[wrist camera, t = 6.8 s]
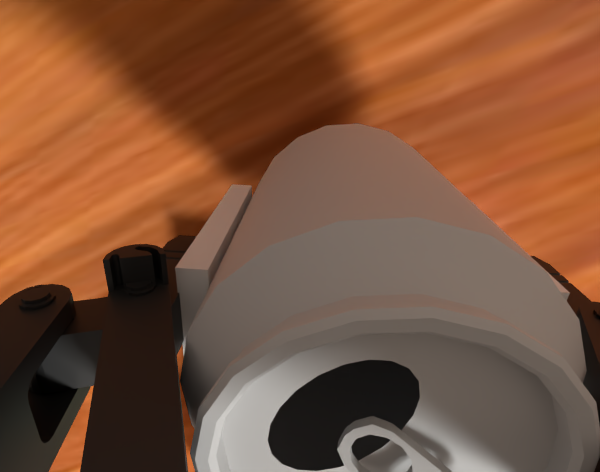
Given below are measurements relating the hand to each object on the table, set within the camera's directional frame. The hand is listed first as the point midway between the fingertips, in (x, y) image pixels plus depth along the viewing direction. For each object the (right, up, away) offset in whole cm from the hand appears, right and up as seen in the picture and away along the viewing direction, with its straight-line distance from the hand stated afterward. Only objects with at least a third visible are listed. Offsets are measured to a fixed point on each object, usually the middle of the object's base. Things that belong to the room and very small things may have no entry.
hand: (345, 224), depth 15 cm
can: (0, +1, +2) cm, 2 cm away
